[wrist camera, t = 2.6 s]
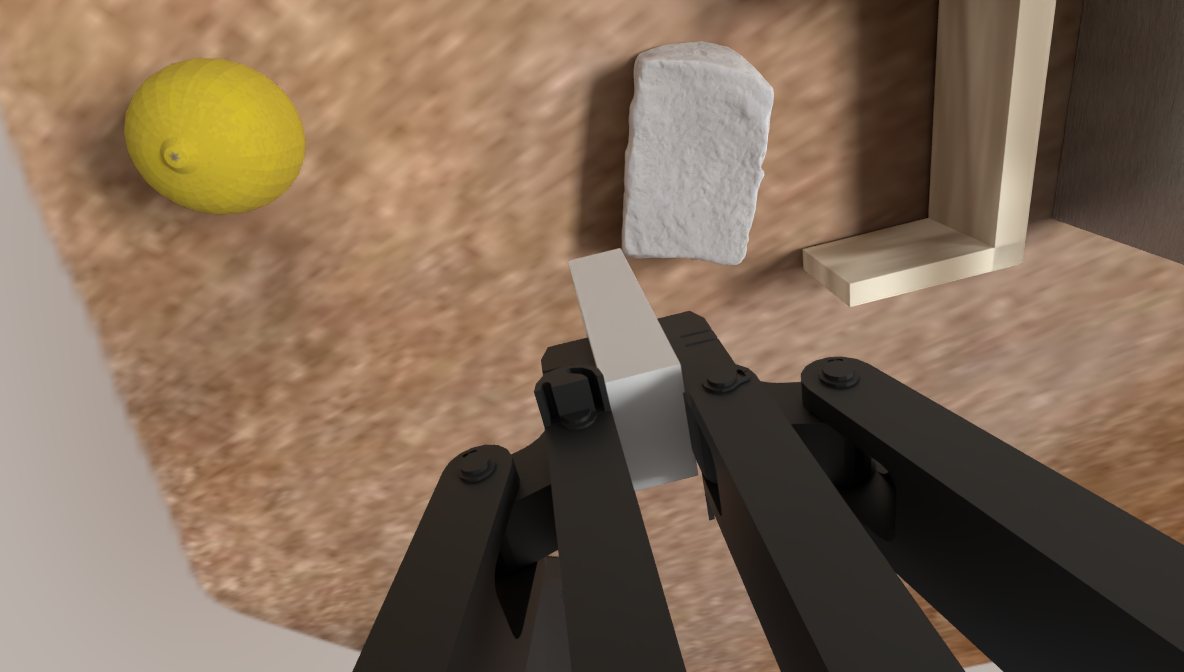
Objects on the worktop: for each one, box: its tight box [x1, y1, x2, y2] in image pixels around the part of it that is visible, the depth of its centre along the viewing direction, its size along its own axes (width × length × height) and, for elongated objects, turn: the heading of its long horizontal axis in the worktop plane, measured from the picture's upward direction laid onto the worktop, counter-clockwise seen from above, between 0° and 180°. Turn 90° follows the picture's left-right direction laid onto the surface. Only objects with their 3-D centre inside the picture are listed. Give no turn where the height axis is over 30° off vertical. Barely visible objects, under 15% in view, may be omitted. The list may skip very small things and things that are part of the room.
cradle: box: [803, 0, 1056, 307], centre depth 28 cm, size 8×14×5 cm, turn 11°
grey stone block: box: [622, 41, 774, 265], centre depth 29 cm, size 10×6×6 cm, turn 171°
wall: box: [1052, 0, 1184, 265], centre depth 27 cm, size 2×16×8 cm, turn 11°
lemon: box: [124, 58, 306, 215], centre depth 24 cm, size 6×6×8 cm
